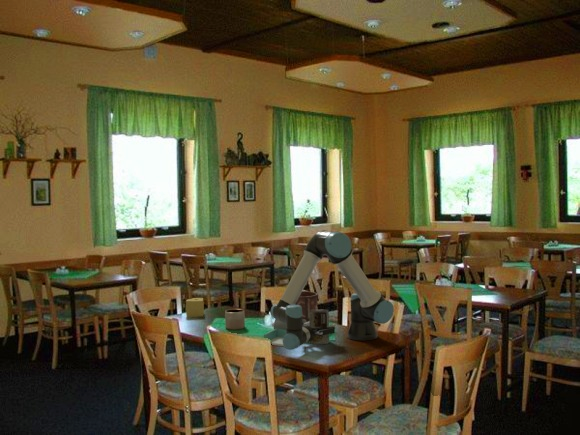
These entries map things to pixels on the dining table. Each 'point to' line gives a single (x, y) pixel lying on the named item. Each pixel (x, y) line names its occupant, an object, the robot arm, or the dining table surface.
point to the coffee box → (319, 324)
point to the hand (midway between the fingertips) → (322, 325)
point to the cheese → (194, 307)
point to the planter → (234, 319)
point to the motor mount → (278, 332)
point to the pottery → (307, 303)
